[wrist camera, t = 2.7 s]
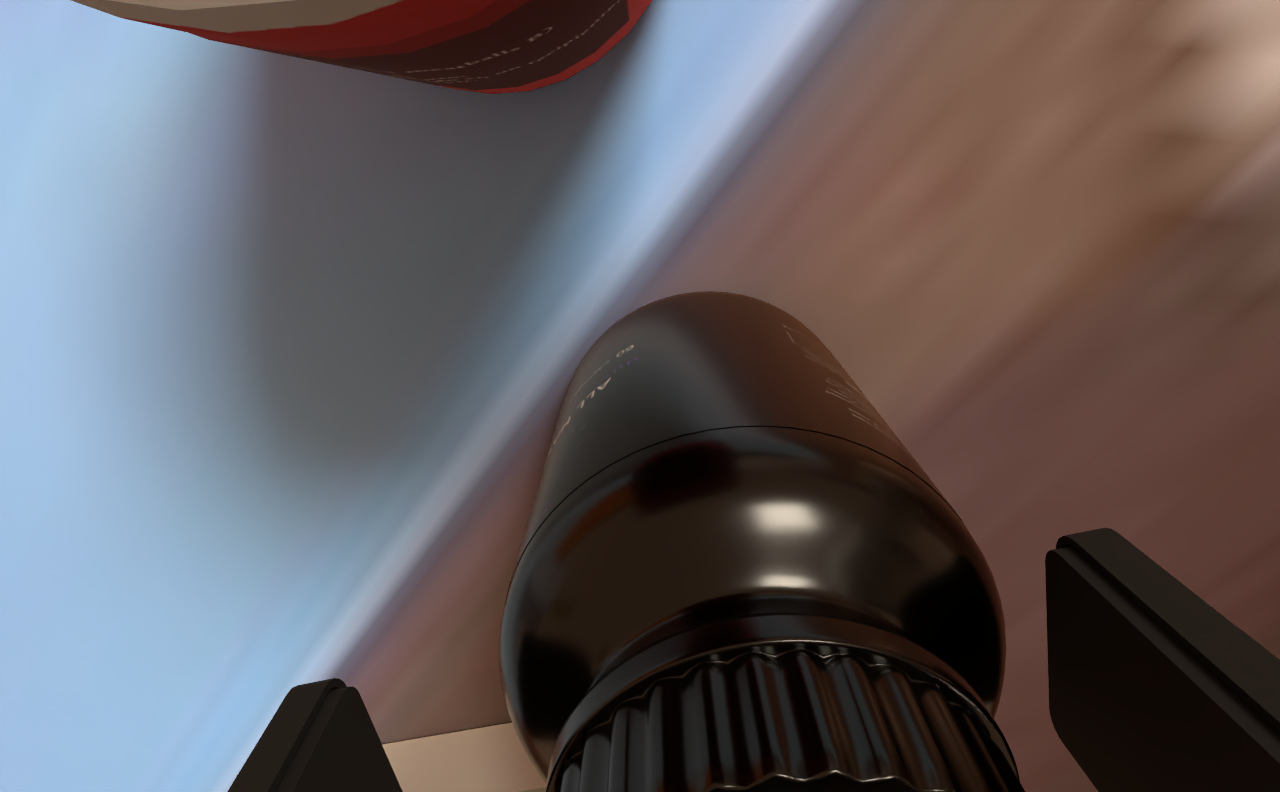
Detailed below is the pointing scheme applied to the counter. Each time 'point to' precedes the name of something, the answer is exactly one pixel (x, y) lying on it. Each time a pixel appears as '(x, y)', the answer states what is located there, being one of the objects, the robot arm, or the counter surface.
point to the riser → (465, 762)
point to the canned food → (411, 34)
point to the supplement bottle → (745, 578)
